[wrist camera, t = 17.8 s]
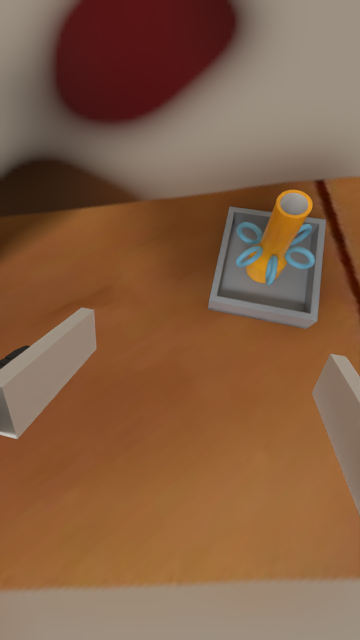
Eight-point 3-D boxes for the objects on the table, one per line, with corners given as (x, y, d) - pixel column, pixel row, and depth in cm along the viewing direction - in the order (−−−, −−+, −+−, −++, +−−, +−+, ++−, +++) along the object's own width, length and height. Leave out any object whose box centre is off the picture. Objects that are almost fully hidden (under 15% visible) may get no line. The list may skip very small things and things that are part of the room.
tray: (208, 309, 43) (209, 300, 39) (227, 221, 48) (229, 206, 44) (306, 328, 41) (317, 321, 37) (315, 234, 46) (326, 219, 42)
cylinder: (278, 231, 45) (315, 153, 31) (311, 278, 42) (368, 216, 28) (216, 257, 44) (225, 191, 30) (245, 308, 41) (269, 260, 27)
